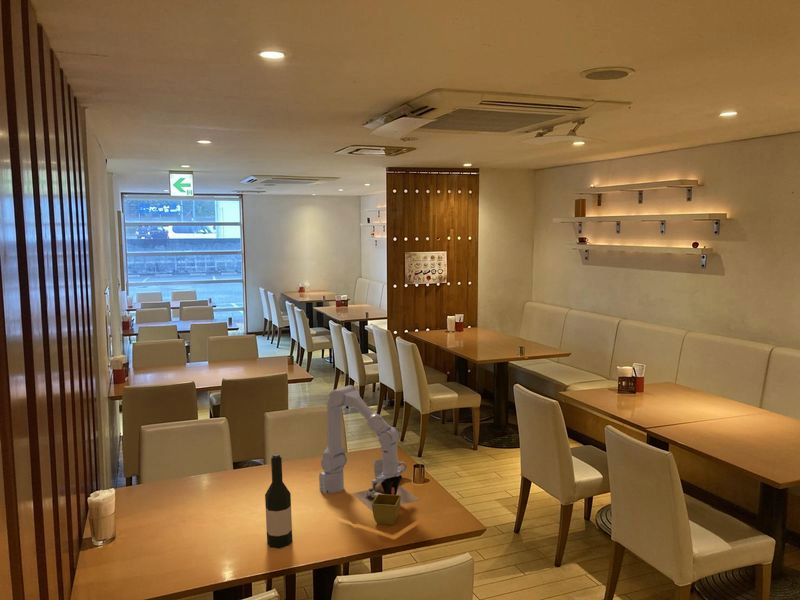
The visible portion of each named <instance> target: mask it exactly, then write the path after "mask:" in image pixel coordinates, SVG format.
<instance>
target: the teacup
mask: <svg viewBox="0 0 800 600" xmlns="http://www.w3.org/2000/svg"><path fill="white" fill-rule="evenodd" d="M401 465H403V467H404V472H405V471H406V470H407V467H408V465H407V463H406V461H405V462H404V461H399V460H398V467H399V466H401ZM373 471H374V472H373V473H374V477H375V478H376V477H378V476H379V475H380V474H381V473H382V472H383V460H382V458H379V459H375V460H374V461H373ZM404 472H401V473H400V475H401V474H402V473H404Z"/></svg>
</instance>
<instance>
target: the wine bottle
mask: <svg viewBox="0 0 800 600" xmlns="http://www.w3.org/2000/svg"><path fill="white" fill-rule="evenodd" d="M282 458H283V457H282V456H281V454H280V453H273V454H272V455H271V457H270V463H271V465H270V466H271V484H270V485H269V487H268V489H267V490H266V493H265V494H264V499H265V520H266V521H265V523H266V524H265V525H266V527H265V528H266V541H267V542H266V544H267V545H268V547H269V548H270V549H282V548H287V547H289V546H290V545H291V544H292V543H293V521H292V520H293V519H292V495H291V491H289V489H288V488H287V486H286V485H285V483H284V482H283V461H282Z"/></svg>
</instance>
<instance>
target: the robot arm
mask: <svg viewBox="0 0 800 600" xmlns="http://www.w3.org/2000/svg"><path fill="white" fill-rule="evenodd" d="M328 396H329V398H328V401H327V402H326V403H327V404H326V409H327V411H326V412H327V413H326V416H327V417H326V419H327V420H326V423H327V424H326V425H327V429H326V430H327V431H326V433H327V434H326V436H327V437H326V439H327V440H326V441H327V444H326V445H327V447H326V448H325V449H324V451H323V453H322V458H321V461H320V466H321V469H322V470H323V471H322V472H319V475H318V480H319V481H318V482H319V490H320V491H321V493H323V494H324V495H328V494H332V493H333V494H334V493H339V492H343V490H344V489H345V484H344V483H345V480H344V469H345V466H346V464H347V462H348V458H347V457H348V456H347V455H346V449H345V448H344V447H343V446H342V408H343V407H353V408H354V410H356V411H357V412H359V414H360V415H362V416H363V418H365V419H366V420H367V426H368V427H369V428H370V429H371V430H372V432H374V433H375V434H376V436H378V438H377V439H378V442H379V444H380V447H381V452H382V454H381V455H382V456H381V457H382V458H381V459H382V460H383V472H382V473H381V474H380V475H379V476H378V477H375V479H376V483H380V484H381V485H382V487H383V490H384V493H385V494H386V495H391V492H392V485H393V486H394V487H395V495H396V494H397V490H398V486H399V485H400V482H401V481H402V478H403V476H402V475H401V474H402V473H401V472H403V473H404V472H405V471H404V467H405V466H401V465H400V466H399V467H398V461H399V459H398V456H399V455H398V442H399V440H400V439H401V434H400V431H399V430H398V429H397V428H396V427H394V426H391V425H390V424H388V423H387V422H386V421H385V419H384V418H383V416H382V415H381V414H379V413H374V412H373V411H372V409H371V408H370V407H369V406H368V404H367V403H366V402H365V401H364V400H363V399H362V397H361V396H360V391H359V390H358V389H357V388H356V387H355V386H354V385H352V384H349V385H346V386H343V387H341V388H340V387H339V388H335V389H333V390H332V391H330V392H329V394H328ZM400 473H401V474H400Z"/></svg>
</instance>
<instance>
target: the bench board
mask: <svg viewBox="0 0 800 600" xmlns="http://www.w3.org/2000/svg"><path fill="white" fill-rule="evenodd" d="M375 492H377V491H375ZM377 493H378V492H377ZM351 494H352V495H353V497H355V498H357V499H358V500H359V501H360V502H361V503H362V504H363V505H365V506H366V507H367V508H368V509H369V510H370V511H371V512H373V510H372V502H373V501H374V499H375V498H372V497H367V495H366V490H362V491H358V492H353V493H351ZM381 494H385V493H384V491H383V492H381ZM396 495H400V496H401V500H400V505H403V504H406V503H407V504H408V503H411V502H412V503H413V502H415V501H420V500H421V499H420V498H419V497H417V496H416V495H414V494H413V493H411V492H410V491H408V490H407V489H406V488H404V487H403V486H401V485H400V484H399V486H398V490H397V494H396Z"/></svg>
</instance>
